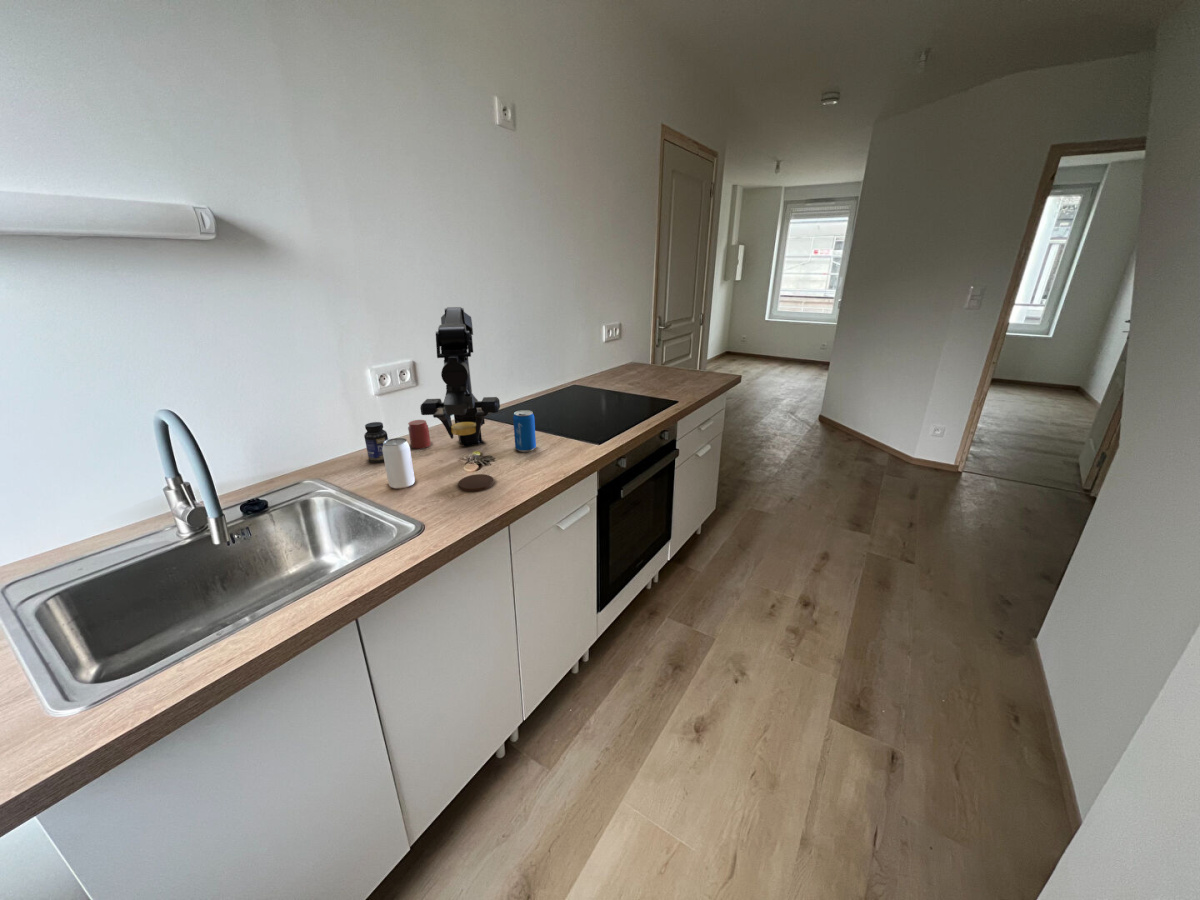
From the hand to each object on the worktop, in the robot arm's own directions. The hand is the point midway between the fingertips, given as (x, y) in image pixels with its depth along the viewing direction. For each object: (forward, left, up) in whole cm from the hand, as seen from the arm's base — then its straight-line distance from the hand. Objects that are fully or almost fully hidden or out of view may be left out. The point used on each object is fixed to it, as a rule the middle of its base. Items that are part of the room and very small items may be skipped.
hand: (464, 437), depth 117 cm
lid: (0, 0, +3) cm, 3 cm away
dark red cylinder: (+6, -34, -12) cm, 37 cm away
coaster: (-1, +3, -12) cm, 13 cm away
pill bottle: (+19, -29, -12) cm, 36 cm away
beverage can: (-22, -14, -12) cm, 28 cm away
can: (+16, -7, -12) cm, 21 cm away
